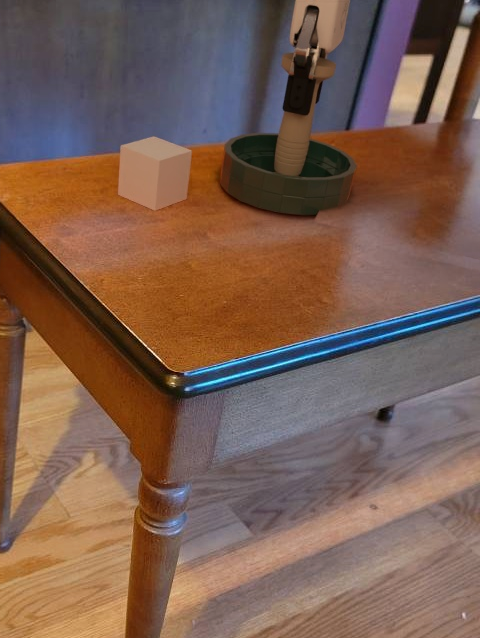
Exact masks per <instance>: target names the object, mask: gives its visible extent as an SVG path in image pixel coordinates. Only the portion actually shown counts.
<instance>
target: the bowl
mask: <svg viewBox="0 0 480 638" xmlns="http://www.w3.org/2000/svg"><path fill="white" fill-rule="evenodd" d="M278 134H279V132H278V133H275V132H255V133H254V132H253V133H245V134H243V133H242V134H240V135H237V136H234V137H231V138H229V140H227V142H225V143H224V147H223V153H222V161H221V168H220V174H219V182H220V183H219V184H220V186H221V188H222V189H223V190H224V191H225V192H226V193H227V194H228V195H229V196H231V197H232V198H234V199H236V200H238V201H239V202H242V203H244V204H247V205H249V206H252V207H255V208H258V209H261V210H266V211H270V212H275V213H279V214H286V215H287V214H288V215H295V216H296V215H297V216H315V215H316V216H318V214H319V212H320V211H324V210H329V209H332V208H333V209H334V208H338V207H340V206H341V205H343V204H345V203H347V202H348V200H349V198H350V195H351V191H352V188H353V185H354V179H355V175H356V172H357V169H358V164H357V163H356V161H355V158H354V157H353V156H351V155H349V154H348V153H347V152H345V151H344V150H343V149H340V148H338V147H336V146H334V145H332V144H329V143H326V142H323V141H320V140H316V139H314V138H310V141H309V146H308V152H307V155H306V159H305V162H304V166H303V169H302V171H301V173H300V174H299V175H298V176H290V175H283V174H279V173H274V172H276V171H275V169H274V162H275V153H276V145H277V139H278Z"/></svg>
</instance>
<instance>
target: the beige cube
mask: <svg viewBox="0 0 480 638" xmlns="http://www.w3.org/2000/svg"><path fill="white" fill-rule="evenodd" d="M119 152H120V153H119V168H118V169H119V171H118V187H117V195H118V196H120V197H122V198H124V199H126V200H129V201H132V202H134V203H135V204H138V205H140V206H143V207H145V208H147V209H150V210H152V211H154V212H156V211H158V210H161V209H164V208H167V207H169V206H172V205H174V204H178V203H180V202H182V201H185V200H188V199H187V198H188V192H189V191H188V190H189V181H190V175H191V174H190V172H191V165H192V155H193V149H189V148H186V147H184V146H182V145H178V144H176V143H173V142H170V141H167V140H165V139H162V138H159V137H157V136H150V137H147V138H142V139H140V140H135V141H131V142H129V143H125V144H121V145H120V151H119Z"/></svg>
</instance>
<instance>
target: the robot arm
mask: <svg viewBox="0 0 480 638" xmlns="http://www.w3.org/2000/svg"><path fill="white" fill-rule="evenodd" d="M350 3H351V0H295V2H294V6H293V12H292V19H291V25H290V32H289V43H290V45H291V46H292V47H293V48H294V50H293V53H294V55H293V59H292V64H291V68H290V73H289V74H287V81H286V87H285V91H284V96H283V103H282V111H283V112H284V111H285V112H290V113H295V114H300V115H305V116H306V115H308V114H309V113H310V109H311V104H312V99H313V94H314V89H315V84H316V79H314V76H315V72H316V68H317V64H318V60H319V57H321V58H324V59H327V60H328V54H330V53H331V52H333V51H334V50H335V49H336V48H337V47H338V46H339V45H340V44H341V43H342V41H343V39H344V35H345V29H346V25H347V19H348V14H349V9H350ZM308 55H313V59H312V60H311V56H308ZM323 83H324V81H322V82H320V84H319V87H318V91H317V97H316V103H315V105H316V104H318V103H319V101H320V99H321V98H320V97H321V94H322V88H323Z"/></svg>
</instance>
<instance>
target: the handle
mask: <svg viewBox="0 0 480 638" xmlns="http://www.w3.org/2000/svg"><path fill="white" fill-rule="evenodd" d="M293 55H294V52H286V53H283V54H282V58H281V65H280V66H281V67H282V69H283V70H284V71H285V72H286V73H287V75H289V73H290V68H291V64H292V59H293ZM308 56H311V60H312V59H313V55H308ZM336 67H337V63H336V62H334V61H332V60H329V59H328V58H327V59H324V58H321V57H319V60H318V64H317V68H316V72H315V76H314V79H316V84H315V89H314V94H313V99H312V104H311V109H310V113H309V114H308V115H306V116H305V115H300V114H295V113H290V112H285V111H283V115H282V119H281V122H280V127H279V130H278V139H277V145H276V153H275V162H274V169H275V171H276V172H274V173H279V174H283V175H290V176H298V175H299V174H300V173H301V171H302V169H303V166H304V162H305V159H306V155H307V152H308V146H309V141H310V139H311V134H312V129H313V121H314V114H315V108H316V104H315V103H316V97H317V91H318V87H319V84H320V82H322V81H323V82H324V81H326V80H328V79H330V78H332V77H334V74H335V72H336Z"/></svg>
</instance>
